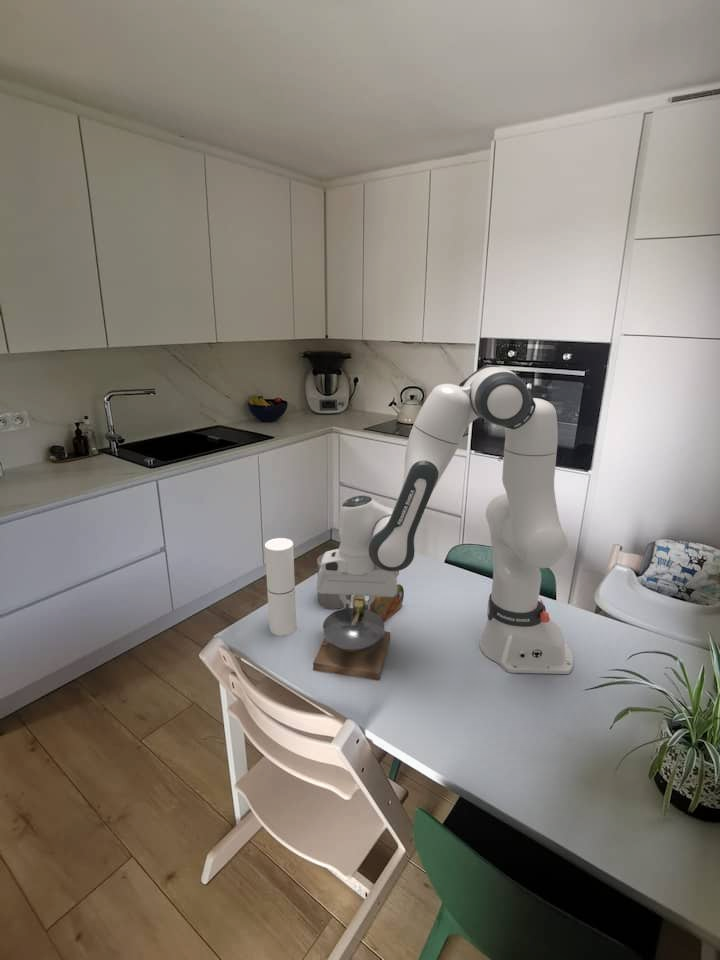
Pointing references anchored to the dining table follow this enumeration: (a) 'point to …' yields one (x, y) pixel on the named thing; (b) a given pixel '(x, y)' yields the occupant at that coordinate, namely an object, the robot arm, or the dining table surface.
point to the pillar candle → (329, 599)
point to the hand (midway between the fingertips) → (356, 608)
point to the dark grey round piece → (353, 628)
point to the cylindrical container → (280, 586)
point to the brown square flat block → (353, 660)
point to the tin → (387, 604)
